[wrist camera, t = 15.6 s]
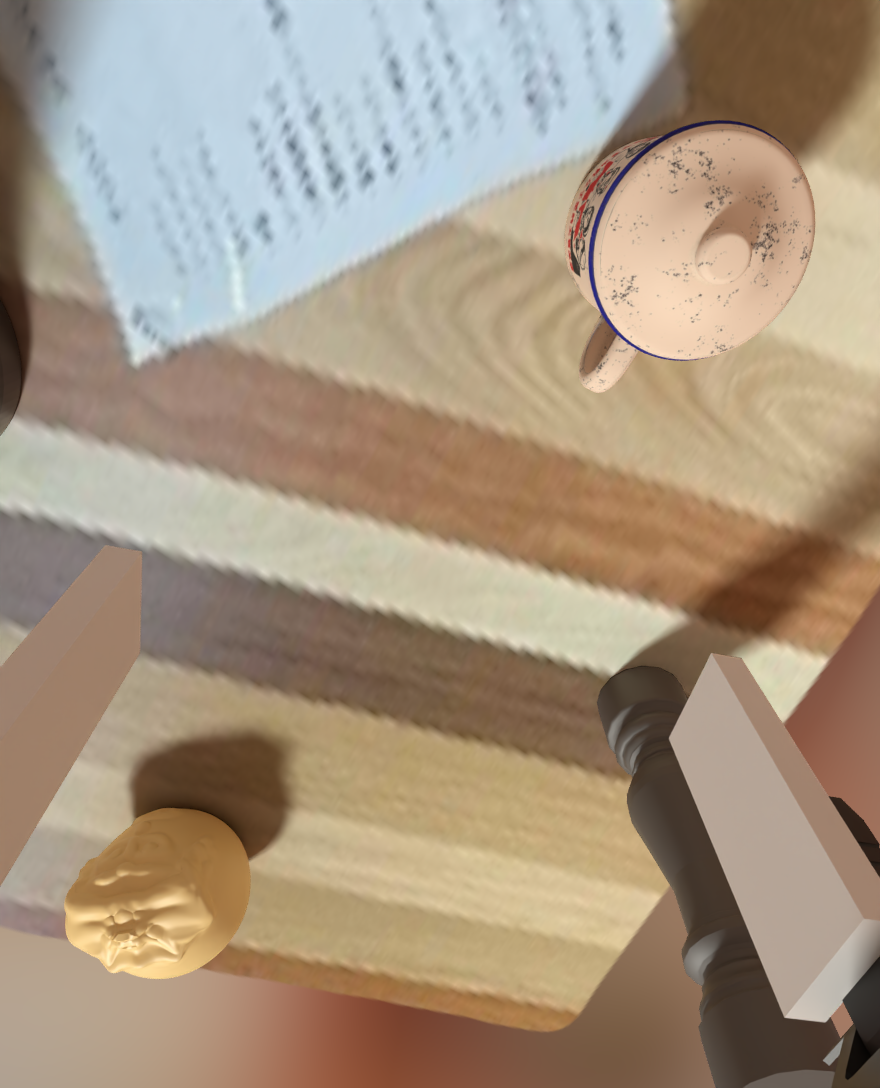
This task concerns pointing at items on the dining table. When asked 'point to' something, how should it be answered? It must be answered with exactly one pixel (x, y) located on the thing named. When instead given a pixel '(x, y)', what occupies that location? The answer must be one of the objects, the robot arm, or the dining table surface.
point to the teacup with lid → (687, 244)
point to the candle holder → (706, 900)
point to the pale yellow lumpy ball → (161, 895)
